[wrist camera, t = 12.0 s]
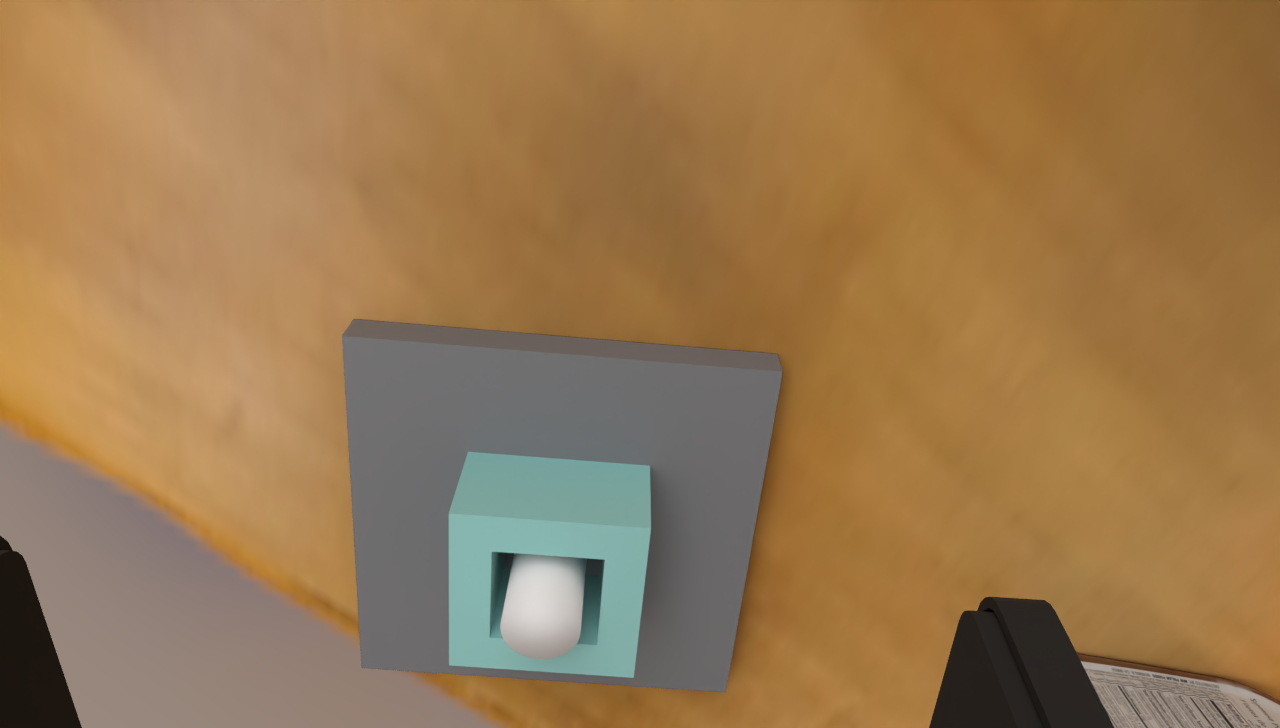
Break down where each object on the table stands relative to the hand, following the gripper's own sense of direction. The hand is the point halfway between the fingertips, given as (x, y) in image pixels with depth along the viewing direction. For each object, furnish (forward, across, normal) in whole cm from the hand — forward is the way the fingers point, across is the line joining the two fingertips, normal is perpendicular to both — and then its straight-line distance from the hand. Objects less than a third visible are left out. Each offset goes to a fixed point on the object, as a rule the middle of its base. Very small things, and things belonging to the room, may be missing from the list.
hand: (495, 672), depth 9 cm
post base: (+24, +2, +16) cm, 29 cm away
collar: (+23, +2, +16) cm, 28 cm away
